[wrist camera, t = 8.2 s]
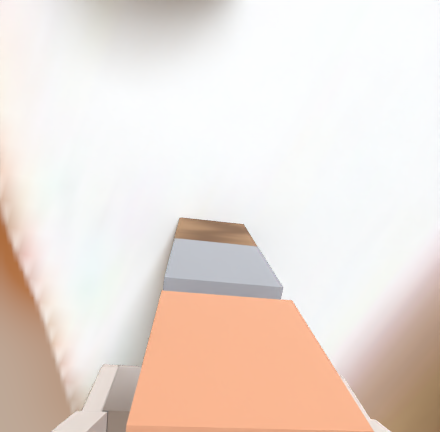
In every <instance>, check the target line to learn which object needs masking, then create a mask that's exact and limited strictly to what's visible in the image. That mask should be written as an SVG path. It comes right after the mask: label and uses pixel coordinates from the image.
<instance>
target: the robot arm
mask: <svg viewBox="0 0 440 432" xmlns="http://www.w3.org/2000/svg"><path fill="white" fill-rule="evenodd" d="M140 371H141V366H127V365H109V364H104V365H103V366H102V367H101V369H100V371H99V373H98V375H97V378H96V380H95V382H94V384H93V386H92V389H91V391H90V393H89V395H88V397H87V400H86V402H85V404H84V406H83V409H82V411H75V412H74V413H73V414H72V415H71V416H69V417H68V418H67V419H66V420H64V421H63V422H62V423H61V424H59V425H58V426H57V427H56V428H55V429H53V430H52V431H51V432H126V425H127V421H128V417H129V413H130V409H131V406H132V402H133V398H134V394H135V390H136V387H137V383H138V379H139V375H140ZM339 376H340V378H341V379H342V381H343V383H344V384H345V386H346V387H347V389H348V391H349V392H350V394H351V395H352V397H353V398H354V400H355V402H356V403H357V405H358V406H359V408H360V410H361V411H362V413H363V414H364V416H365V418H366V419H367V421H368V422H369V424H370V426H371V427H372V429H373V430H374V432H391V431H389V430H388V429H387V428H385V427H384V426H383V425H382V424H380V423H379V422H378V421H376V420H374V419H370V417H369V416H368V414H367V413H366V411H365V410H364V408H363V407H362V405H361V403H360V402H359V400H358V399H357V397H356V396H355V394H354V393H353V391H352V390H351V388H350V387H349V385H348V383H347V382H346V380H345V379H344V378H343V377H342V376H341V375H339Z"/></svg>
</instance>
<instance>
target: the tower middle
mask: <svg viewBox="0 0 440 432" xmlns="http://www.w3.org/2000/svg"><path fill="white" fill-rule="evenodd" d="M163 291H176V292H189V293H202V294H215V295H228V296H241V297H253V298H266V299H279V300H281V296H282V291H283V286H282V285H281V283H280V281H279V280H278V278H277V277H276V275H275V273H274V272H273V270H272V269H271V267H270V265H269V264H268V262H267V261H266V259H265V257H264V256H263V254H262V253H261V251H260V249H259V248H258V247H257V246H248V245H238V244H228V243H218V242H208V241H198V240H188V239H178V238H175V239H174V243H173V247H172V250H171V254H170V258H169V262H168V265H167V269H166V273H165V277H164V286H163Z"/></svg>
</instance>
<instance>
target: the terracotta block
mask: <svg viewBox="0 0 440 432" xmlns="http://www.w3.org/2000/svg"><path fill="white" fill-rule="evenodd" d="M126 432H374V430H373V429H372V427H371V426H370V424H369V422H368V421H367V419H366V418H365V416H364V414H363V413H362V411H361V410H360V408H359V406H358V405H357V403H356V402H355V400H354V398H353V397H352V395H351V394H350V392H349V391H348V389H347V387H346V386H345V384H344V383H343V381H342V379H341V378H340V376H339V375H338V373H337V371H336V370H335V368H334V367H333V365H332V363H331V362H330V360H329V359H328V357H327V355H326V354H325V352H324V351H323V349H322V348H321V346H320V344H319V343H318V341H317V340H316V338H315V336H314V335H313V333H312V332H311V330H310V328H309V327H308V325H307V324H306V322H305V320H304V319H303V317H302V316H301V314H300V312H299V311H298V309H297V308H296V306H295V304H294V303H293V301H292V300H279V299H266V298H253V297H241V296H228V295H215V294H202V293H189V292H176V291H163V290H162V291H161V295H160V299H159V303H158V307H157V310H156V314H155V318H154V322H153V326H152V329H151V333H150V337H149V341H148V345H147V348H146V352H145V356H144V360H143V364H142V367H141V371H140V375H139V379H138V383H137V387H136V390H135V394H134V398H133V402H132V406H131V409H130V413H129V417H128V421H127V425H126Z"/></svg>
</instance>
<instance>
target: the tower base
mask: <svg viewBox="0 0 440 432" xmlns="http://www.w3.org/2000/svg"><path fill="white" fill-rule="evenodd" d="M175 238H178V239H188V240H198V241H208V242H218V243H228V244H238V245H248V246H257V245H256V243H255V242H254V240H253V239H252V237H251V235H250V234H249V232H248V231H247V229H246V227H245V226H244V224H236V223H227V222H217V221H208V220H199V219H189V218H180V219H179V222H178V226H177V230H176V233H175V237H174V239H175Z"/></svg>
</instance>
